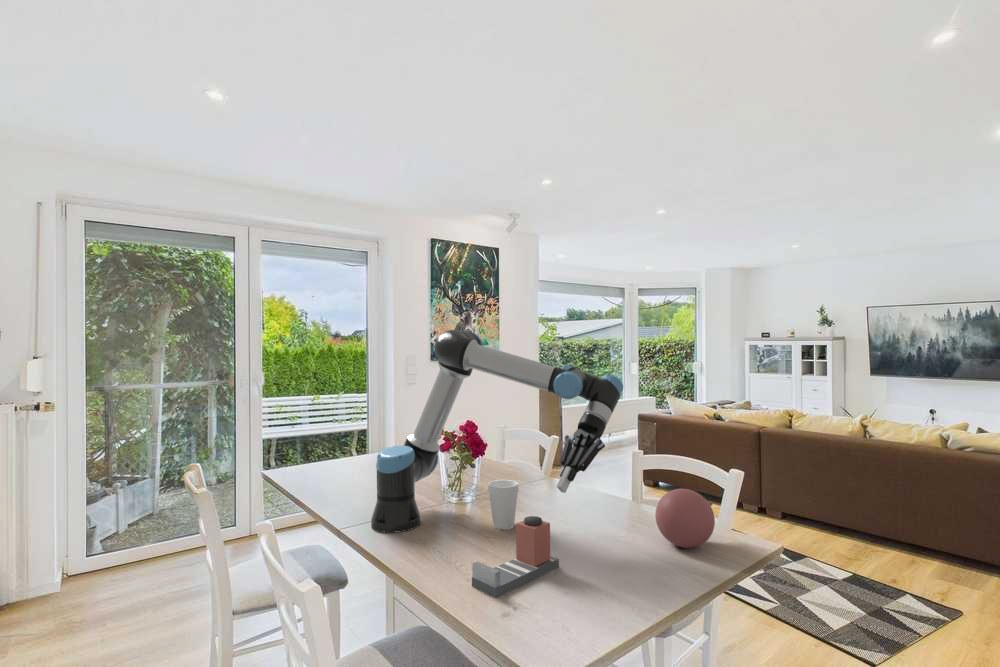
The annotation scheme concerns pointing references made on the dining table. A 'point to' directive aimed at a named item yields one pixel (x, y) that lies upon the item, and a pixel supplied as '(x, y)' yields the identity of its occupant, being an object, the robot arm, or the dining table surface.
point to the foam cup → (503, 502)
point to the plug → (533, 541)
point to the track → (508, 575)
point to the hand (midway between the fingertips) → (560, 489)
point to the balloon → (685, 518)
